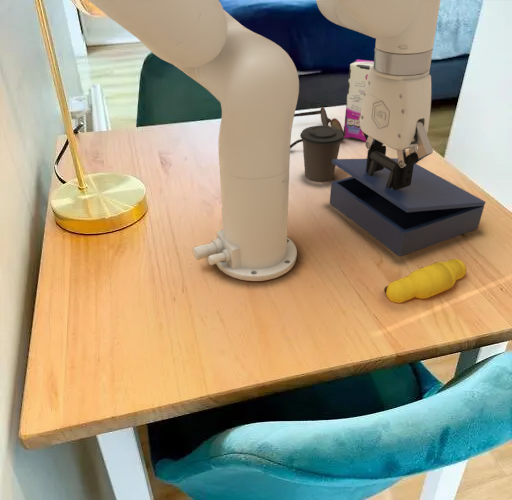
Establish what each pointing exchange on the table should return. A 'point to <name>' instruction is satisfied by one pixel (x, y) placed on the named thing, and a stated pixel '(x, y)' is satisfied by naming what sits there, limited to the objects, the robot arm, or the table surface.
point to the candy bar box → (356, 98)
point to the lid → (411, 197)
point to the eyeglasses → (325, 122)
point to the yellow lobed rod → (426, 281)
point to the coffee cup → (320, 152)
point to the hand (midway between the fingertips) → (387, 177)
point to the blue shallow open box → (400, 218)
